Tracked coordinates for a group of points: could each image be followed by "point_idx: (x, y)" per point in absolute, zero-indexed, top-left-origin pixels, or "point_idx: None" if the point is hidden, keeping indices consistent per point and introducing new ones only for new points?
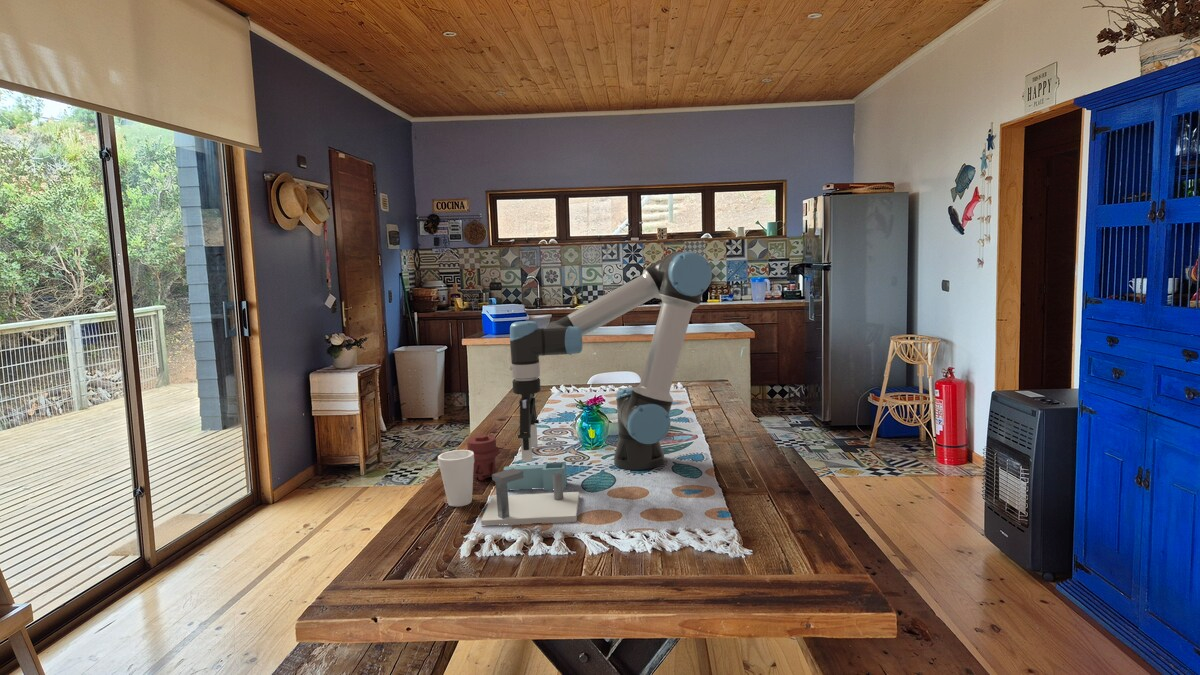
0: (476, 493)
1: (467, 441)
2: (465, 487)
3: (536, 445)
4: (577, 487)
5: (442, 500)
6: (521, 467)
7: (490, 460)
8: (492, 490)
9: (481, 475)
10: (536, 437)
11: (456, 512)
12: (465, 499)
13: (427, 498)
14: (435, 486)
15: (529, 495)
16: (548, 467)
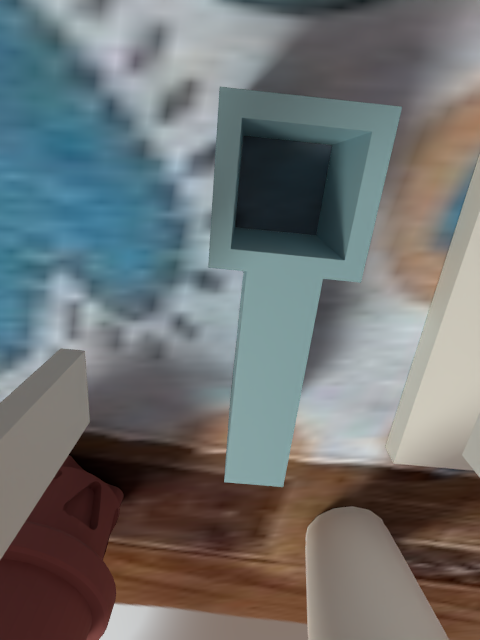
0: (270, 497)
1: None
2: (418, 585)
3: (78, 365)
4: (334, 46)
5: None
6: (268, 404)
7: (75, 533)
8: None
9: (117, 508)
10: (35, 408)
11: (440, 536)
12: (392, 538)
13: (275, 606)
14: (164, 599)
15: (458, 325)
16: (232, 235)
